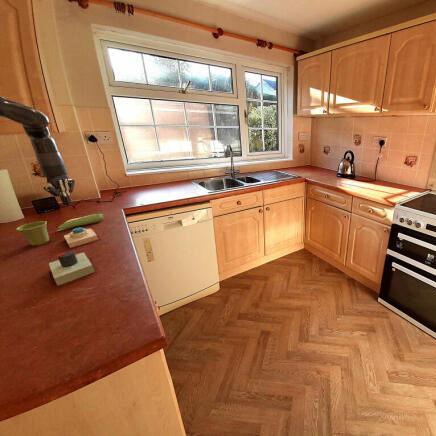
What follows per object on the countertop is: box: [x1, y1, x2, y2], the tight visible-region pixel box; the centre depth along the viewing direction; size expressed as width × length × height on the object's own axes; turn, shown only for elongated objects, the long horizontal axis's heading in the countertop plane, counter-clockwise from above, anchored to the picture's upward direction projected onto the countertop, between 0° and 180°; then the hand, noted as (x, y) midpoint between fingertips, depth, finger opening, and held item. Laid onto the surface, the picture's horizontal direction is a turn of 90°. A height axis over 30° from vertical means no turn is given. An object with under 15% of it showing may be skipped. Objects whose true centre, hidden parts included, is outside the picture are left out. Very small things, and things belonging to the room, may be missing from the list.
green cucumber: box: [56, 212, 105, 232], centre depth 126 cm, size 5×20×5 cm, turn 135°
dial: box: [56, 250, 78, 267], centre depth 85 cm, size 4×4×4 cm
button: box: [72, 226, 84, 234], centre depth 109 cm, size 4×4×2 cm
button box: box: [63, 228, 99, 249], centre depth 110 cm, size 12×10×4 cm
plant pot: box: [16, 220, 50, 247], centre depth 107 cm, size 9×9×9 cm
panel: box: [48, 251, 96, 287], centre depth 86 cm, size 14×10×3 cm
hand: (67, 204), depth 104 cm, fingers closed
